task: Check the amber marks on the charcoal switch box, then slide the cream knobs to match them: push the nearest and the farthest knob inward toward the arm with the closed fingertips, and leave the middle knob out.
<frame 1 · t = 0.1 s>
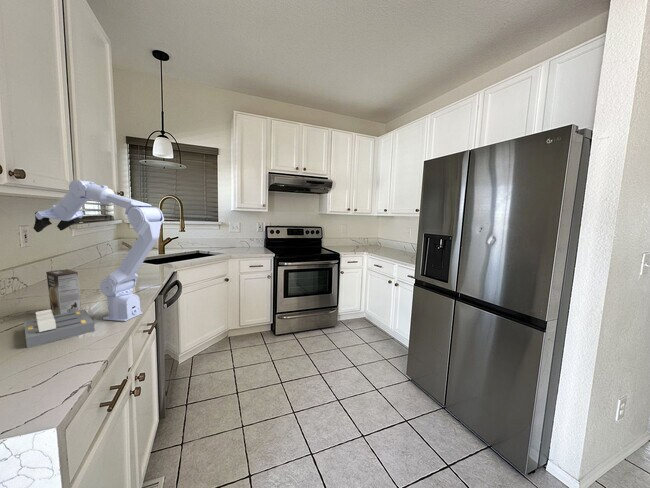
hand: (48, 229, 100), 32 cm above the counter, tool tilted 50°, fingers open, 7 cm apart
switch near: (46, 324, 82), point 5 cm above the counter, slide at 5.0 cm
switch box: (60, 330, 88), on the counter
coffee box: (66, 312, 104), on the counter
switch middle: (45, 319, 85), point 5 cm above the counter, slide at 5.0 cm
switch far: (44, 315, 89), point 5 cm above the counter, slide at 5.0 cm
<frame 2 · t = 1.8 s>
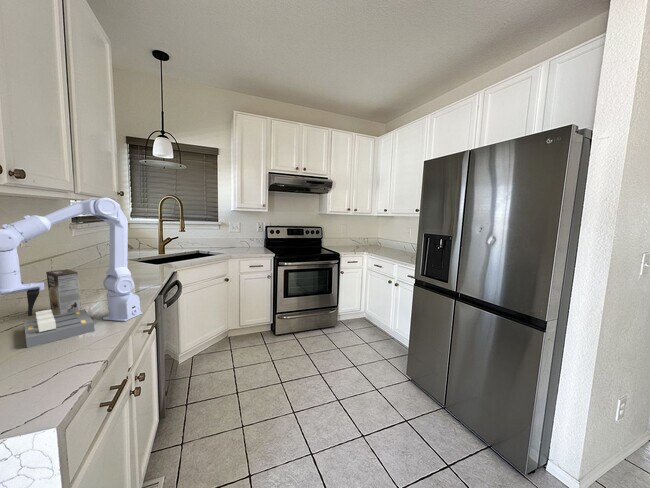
hand: (10, 318, 76), 9 cm above the counter, tool pointing down, fingers open, 7 cm apart
nothing on the counter moved.
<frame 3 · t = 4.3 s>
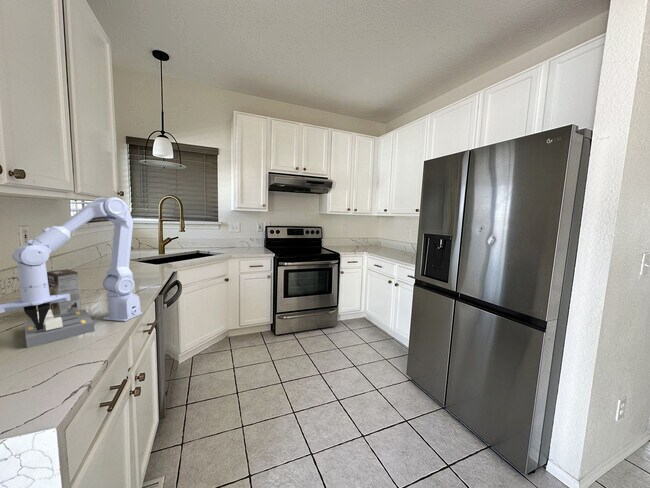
hand: (39, 328, 81), 4 cm above the counter, tool pointing down, fingers closed
switch near: (53, 323, 83), point 5 cm above the counter, slide at 3.5 cm, touching gripper
everything else where it was.
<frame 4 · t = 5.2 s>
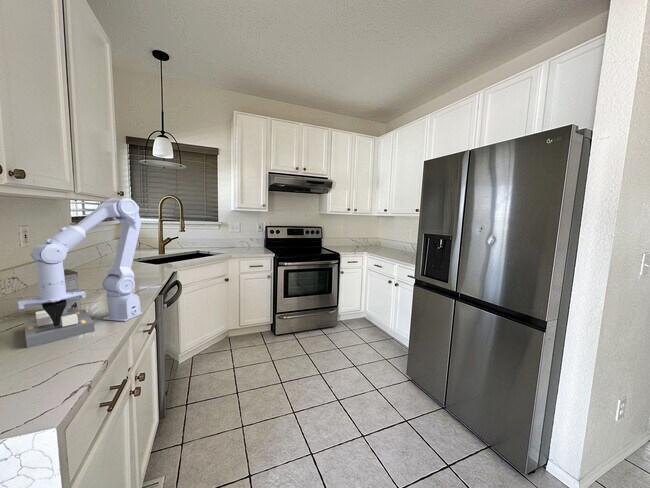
hand: (56, 325, 83), 4 cm above the counter, tool pointing down, fingers closed
switch near: (69, 320, 86), point 5 cm above the counter, slide at 0.0 cm, touching gripper
everything else where it was.
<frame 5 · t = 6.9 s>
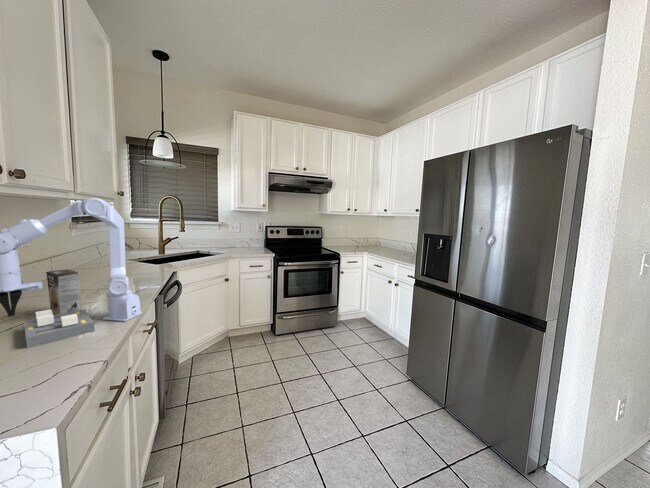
hand: (11, 315, 84), 7 cm above the counter, tool pointing down, fingers closed
switch near: (69, 320, 86), point 5 cm above the counter, slide at 0.0 cm
everything else where it was.
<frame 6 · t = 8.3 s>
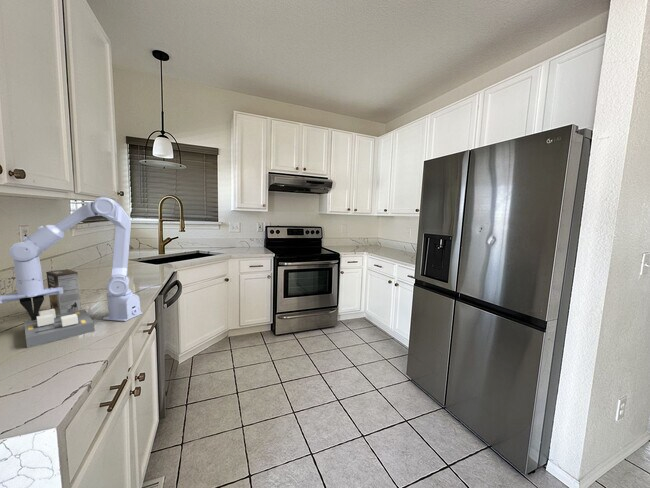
hand: (34, 319, 87), 4 cm above the counter, tool pointing down, fingers closed
switch far: (47, 314, 90), point 5 cm above the counter, slide at 4.2 cm, touching gripper
everything else where it was.
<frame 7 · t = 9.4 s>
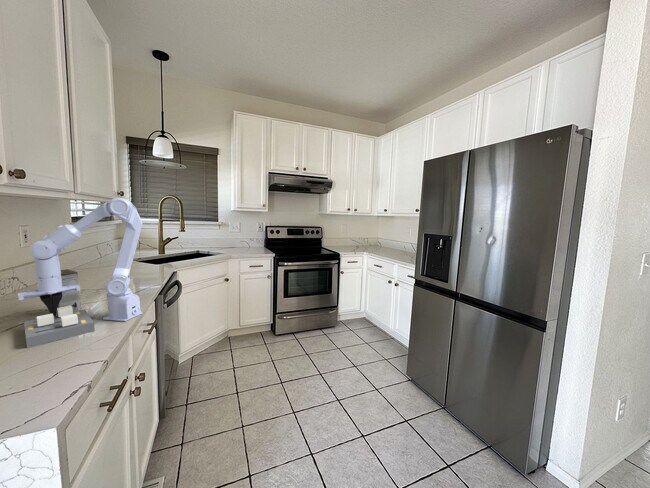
hand: (53, 315, 91), 4 cm above the counter, tool pointing down, fingers closed
switch far: (65, 311, 93), point 5 cm above the counter, slide at -0.1 cm, touching gripper
everything else where it was.
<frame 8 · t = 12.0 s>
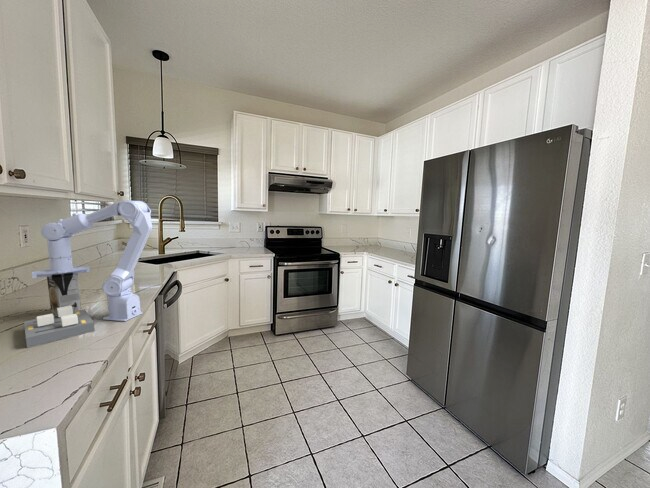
hand: (64, 294, 95), 9 cm above the counter, tool pointing down, fingers closed
switch far: (65, 311, 93), point 5 cm above the counter, slide at 0.0 cm
everything else where it was.
at the end: switch near slide at 0.0 cm; switch middle slide at 5.0 cm; switch far slide at 0.0 cm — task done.
